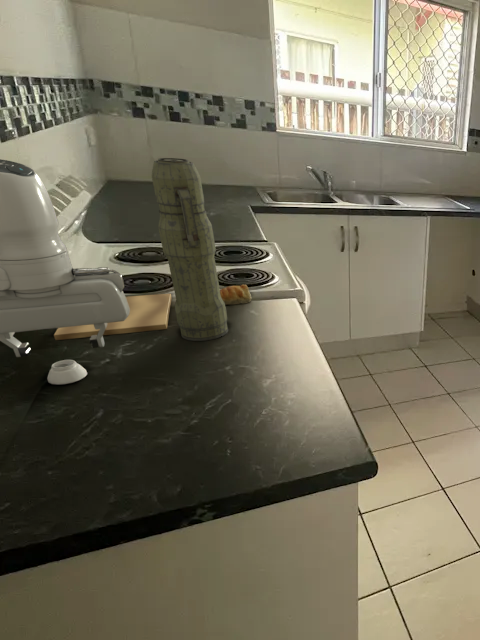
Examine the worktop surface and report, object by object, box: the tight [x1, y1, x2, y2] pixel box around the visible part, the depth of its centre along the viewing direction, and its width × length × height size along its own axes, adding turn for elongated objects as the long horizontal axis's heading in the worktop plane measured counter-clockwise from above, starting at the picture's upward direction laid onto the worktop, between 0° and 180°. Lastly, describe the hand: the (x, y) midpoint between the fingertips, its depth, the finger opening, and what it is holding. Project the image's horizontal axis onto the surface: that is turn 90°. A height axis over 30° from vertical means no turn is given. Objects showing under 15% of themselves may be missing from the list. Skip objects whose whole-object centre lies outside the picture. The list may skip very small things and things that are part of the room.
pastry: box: [220, 284, 252, 306], centre depth 117 cm, size 9×7×4 cm
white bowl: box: [46, 359, 88, 385], centre depth 80 cm, size 5×3×5 cm
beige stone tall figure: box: [151, 157, 229, 342], centre depth 94 cm, size 9×12×35 cm
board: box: [53, 293, 173, 341], centre depth 104 cm, size 18×20×1 cm
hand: (62, 350), depth 79 cm, fingers open, 8 cm apart
